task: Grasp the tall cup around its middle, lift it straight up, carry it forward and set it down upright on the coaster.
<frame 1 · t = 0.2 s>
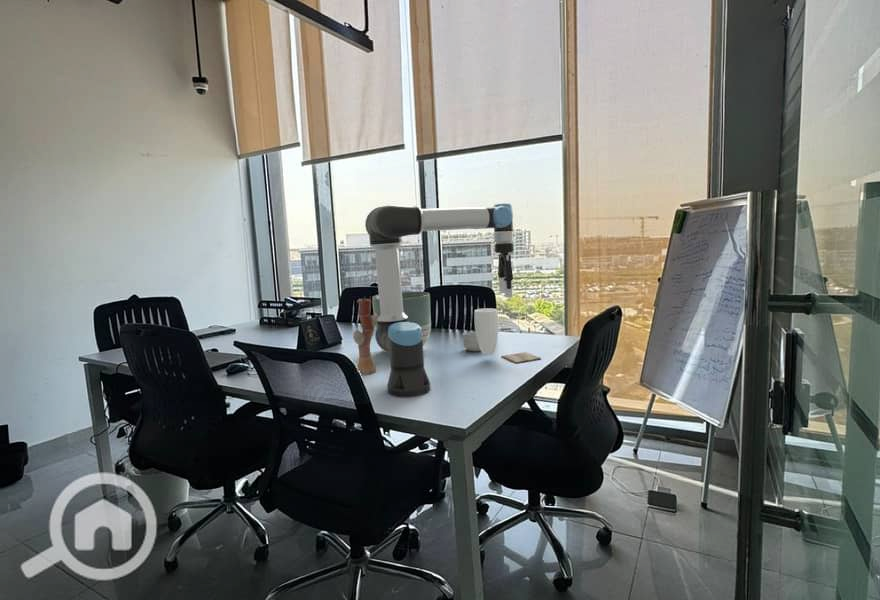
hand: (505, 295, 196), 28 cm above the table, fingers open, 13 cm apart
planter: (404, 352, 227), on the table
cup: (488, 360, 204), on the table
coaster: (520, 358, 204), on the table
teacup: (475, 351, 222), on the table
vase: (369, 372, 196), on the table
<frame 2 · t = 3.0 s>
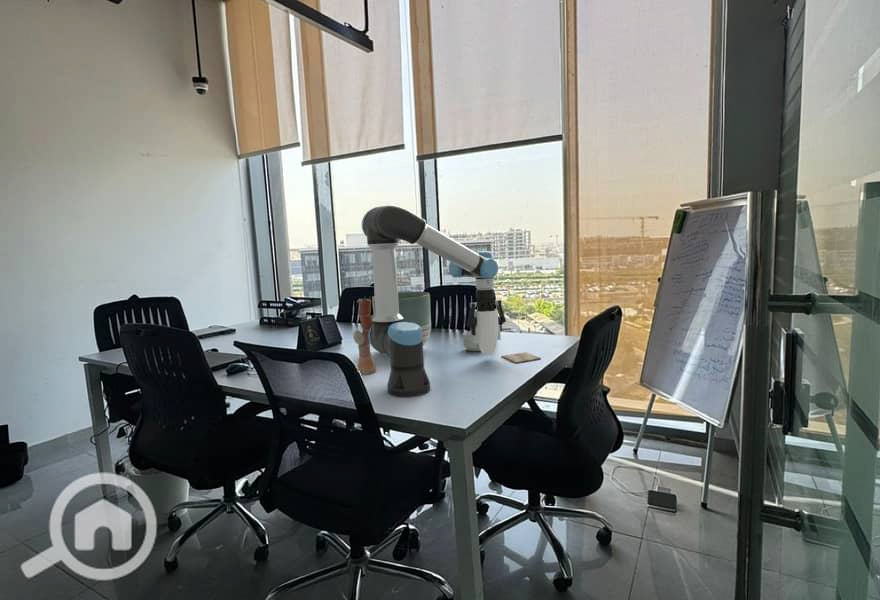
hand: (487, 341, 203), 8 cm above the table, fingers closed on cup, 10 cm apart
cup: (488, 360, 204), on the table, touching gripper
everything else where it was.
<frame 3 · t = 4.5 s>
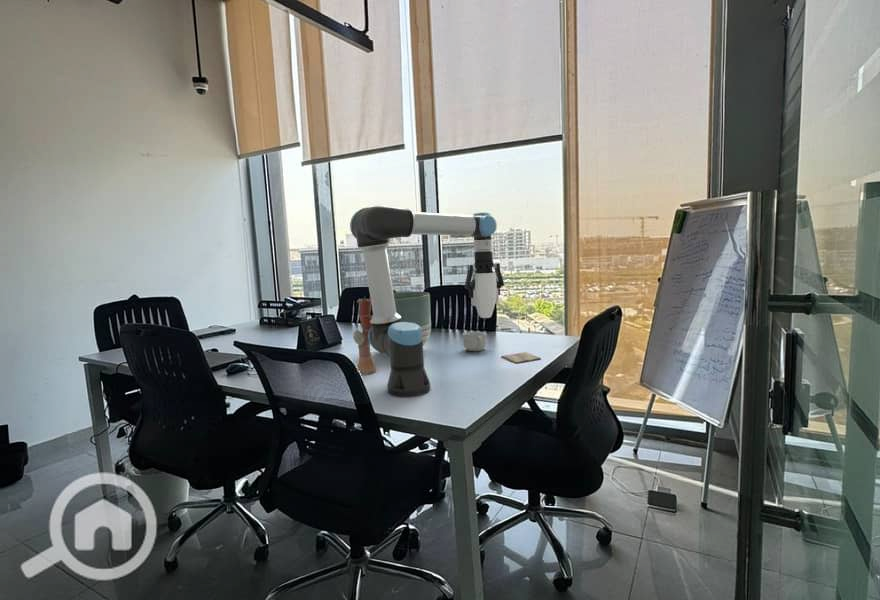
hand: (485, 304, 201), 24 cm above the table, fingers closed on cup, 10 cm apart
cup: (485, 324, 202), point 15 cm above the table, touching gripper
everything else where it was.
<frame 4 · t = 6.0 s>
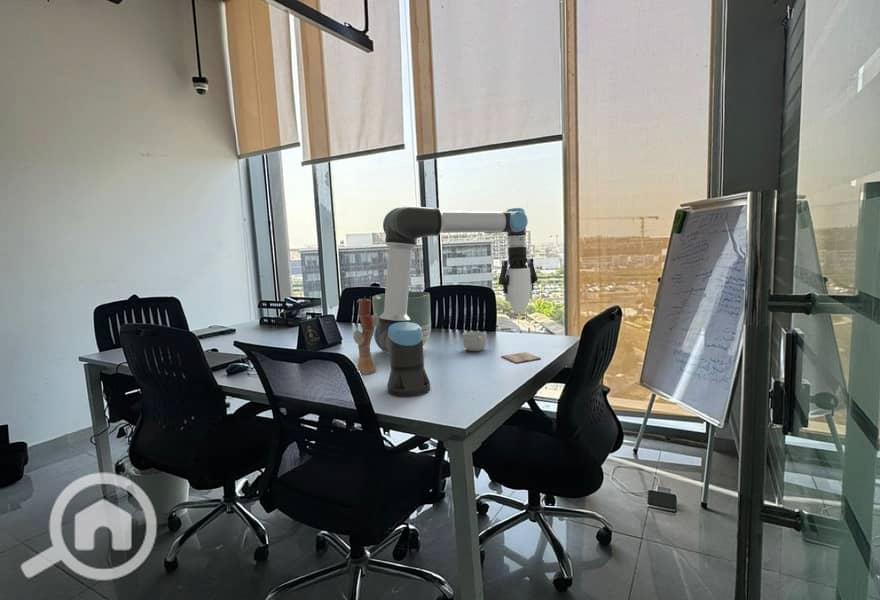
hand: (518, 299, 201), 25 cm above the table, fingers closed on cup, 10 cm apart
cup: (519, 319, 202), point 17 cm above the table, touching gripper
everything else where it was.
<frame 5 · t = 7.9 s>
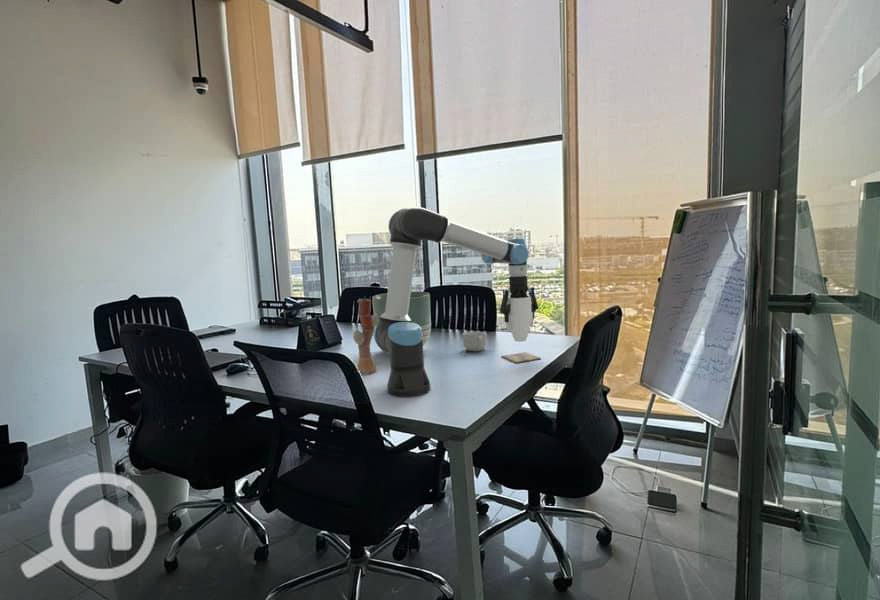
hand: (519, 328, 202), 13 cm above the table, fingers closed on cup, 10 cm apart
cup: (520, 347, 203), point 5 cm above the table, touching gripper
everything else where it was.
when the fingers open (10 cm above the table, at t = 9.2 s): cup stays where it is, resting on coaster.
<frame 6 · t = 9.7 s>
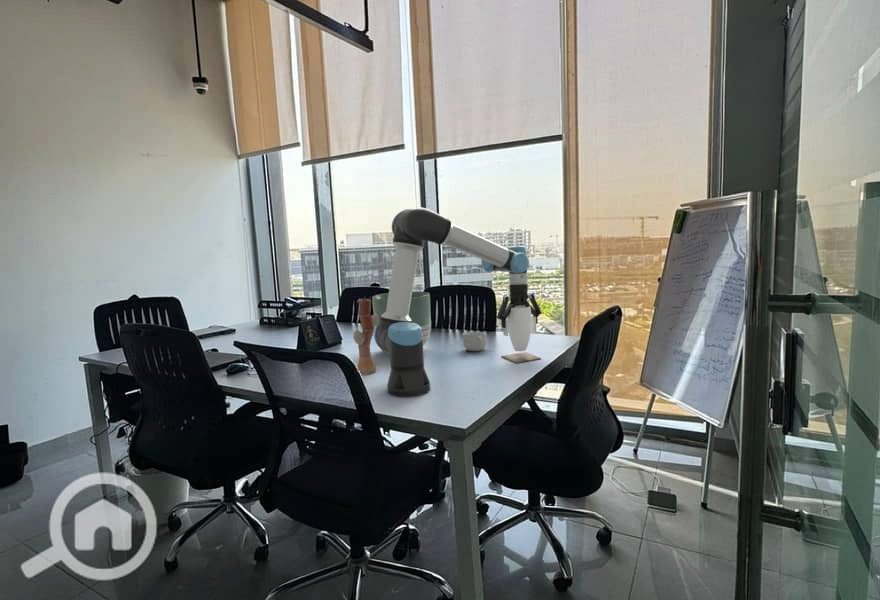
hand: (520, 333, 203), 11 cm above the table, fingers open, 13 cm apart
cup: (520, 357, 204), resting on coaster
everything else where it was.
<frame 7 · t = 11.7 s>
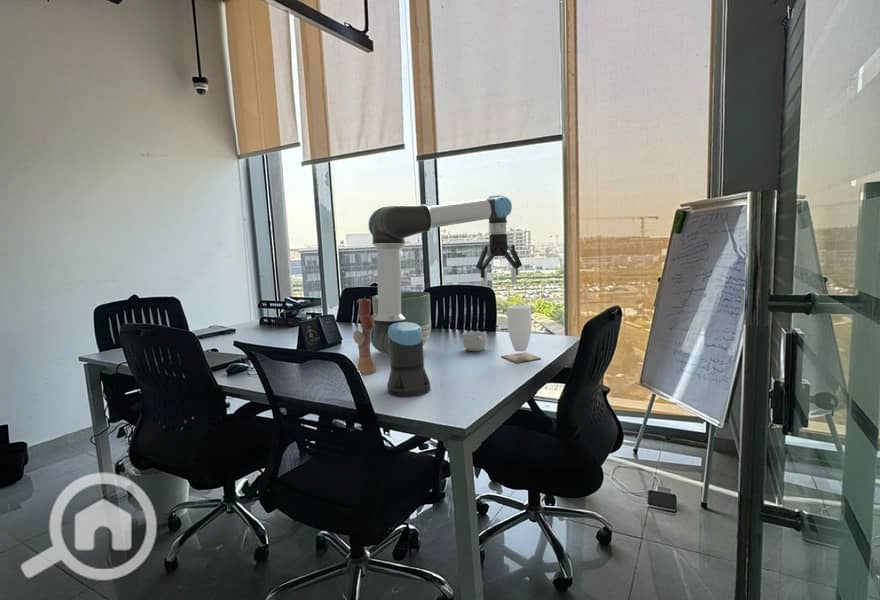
hand: (499, 284, 202), 32 cm above the table, fingers open, 13 cm apart
nothing on the table moved.
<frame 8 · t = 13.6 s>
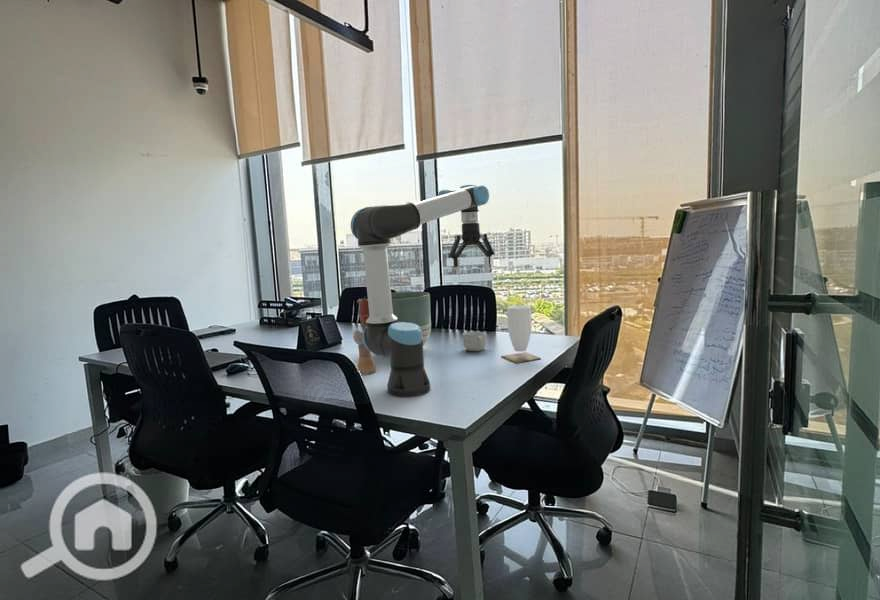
hand: (472, 273, 205), 37 cm above the table, fingers open, 13 cm apart
nothing on the table moved.
at the end: cup 0.1 cm from the coaster (horizontally); cup tilted 0°; the gripper is holding nothing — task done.
